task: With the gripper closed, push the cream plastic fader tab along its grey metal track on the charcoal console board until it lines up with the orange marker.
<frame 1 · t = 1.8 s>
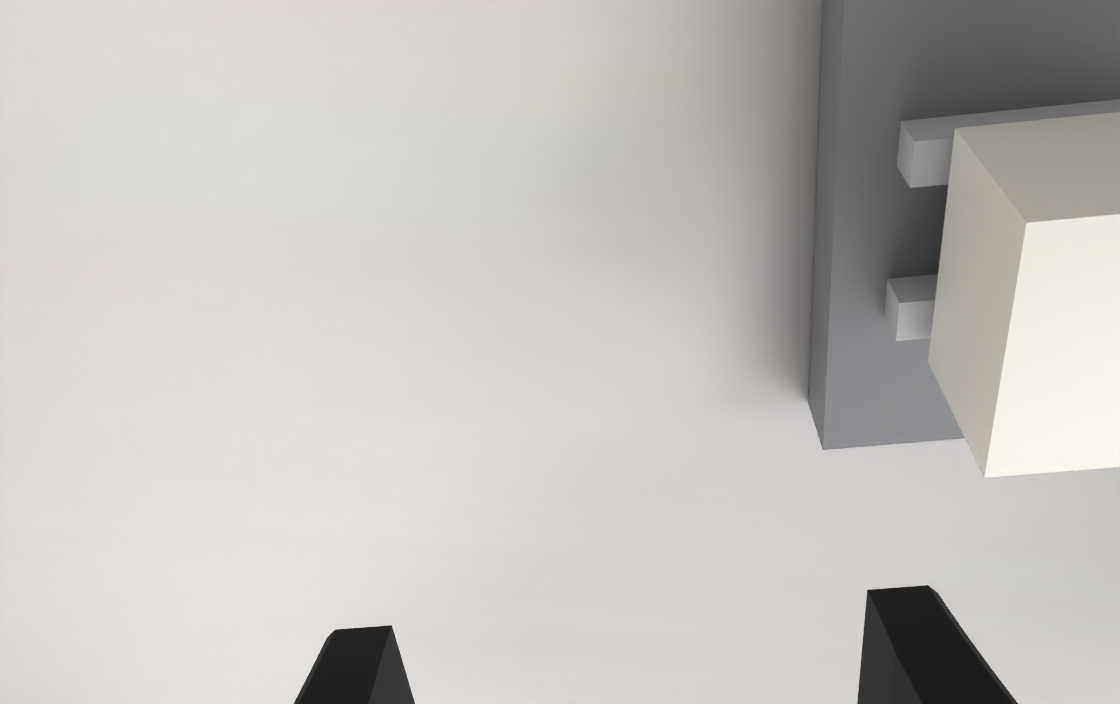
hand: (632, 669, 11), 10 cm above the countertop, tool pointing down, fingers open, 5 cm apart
fader tab: (1093, 277, 16), point 4 cm above the countertop, slide at 6.0 cm
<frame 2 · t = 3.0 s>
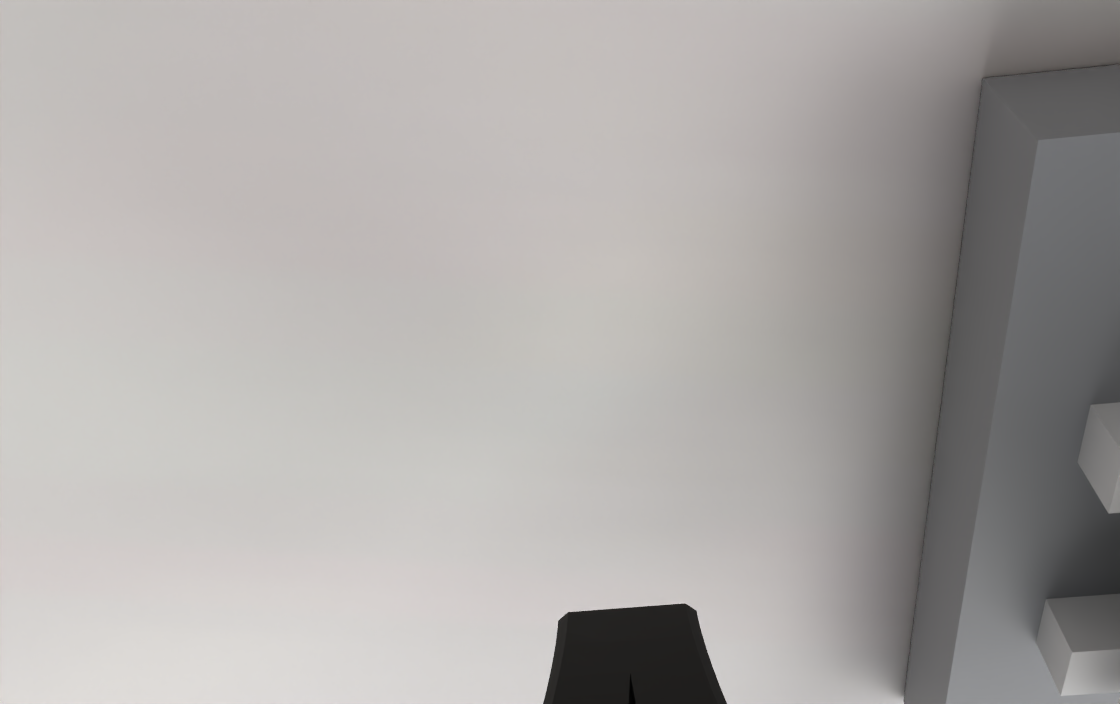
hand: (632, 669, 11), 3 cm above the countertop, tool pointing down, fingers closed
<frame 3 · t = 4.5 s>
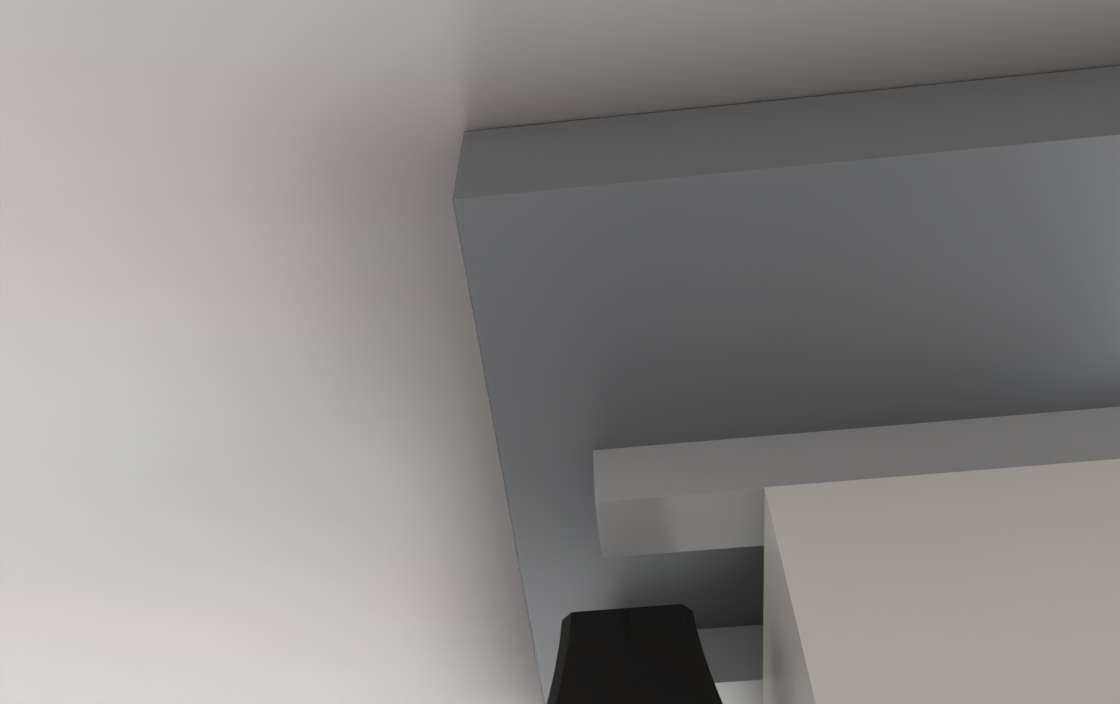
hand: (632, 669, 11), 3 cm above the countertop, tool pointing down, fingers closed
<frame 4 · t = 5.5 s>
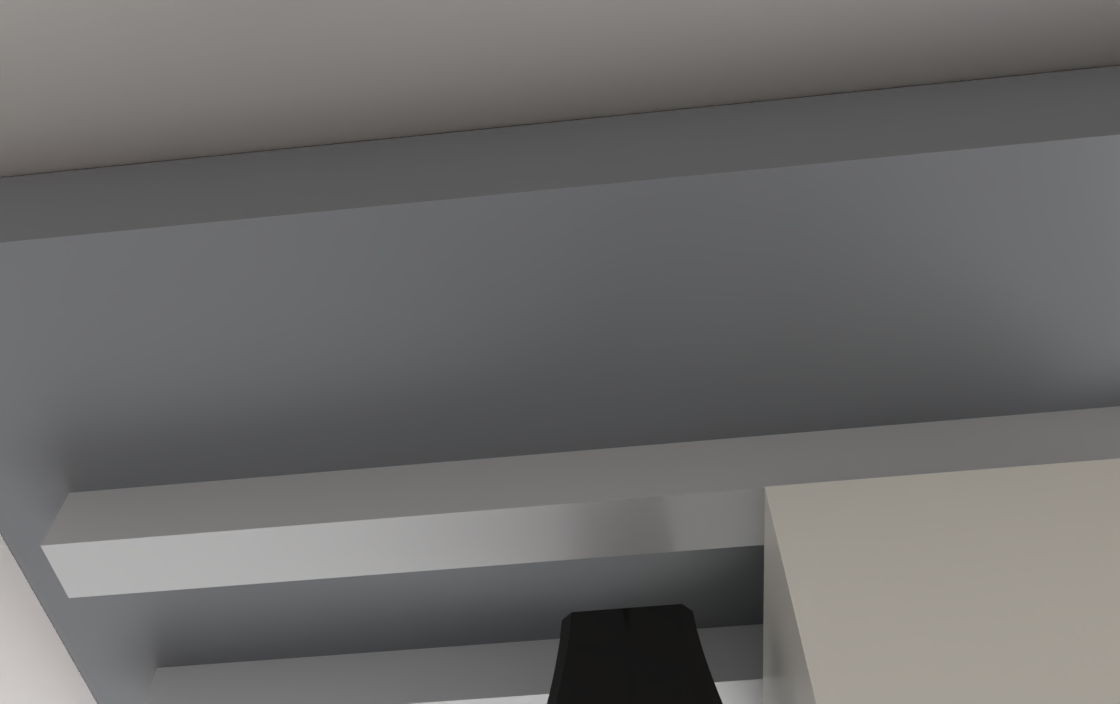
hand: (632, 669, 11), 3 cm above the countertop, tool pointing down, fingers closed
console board: (816, 468, 13), on the countertop
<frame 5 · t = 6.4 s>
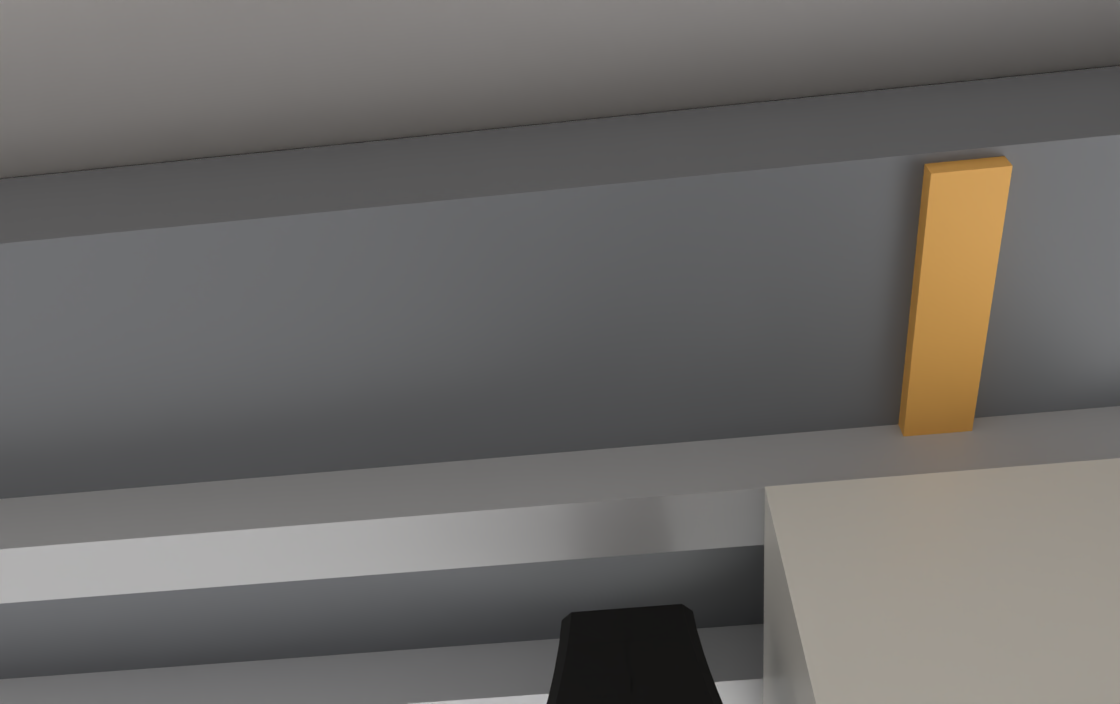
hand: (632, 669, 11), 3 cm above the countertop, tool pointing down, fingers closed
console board: (569, 488, 14), on the countertop
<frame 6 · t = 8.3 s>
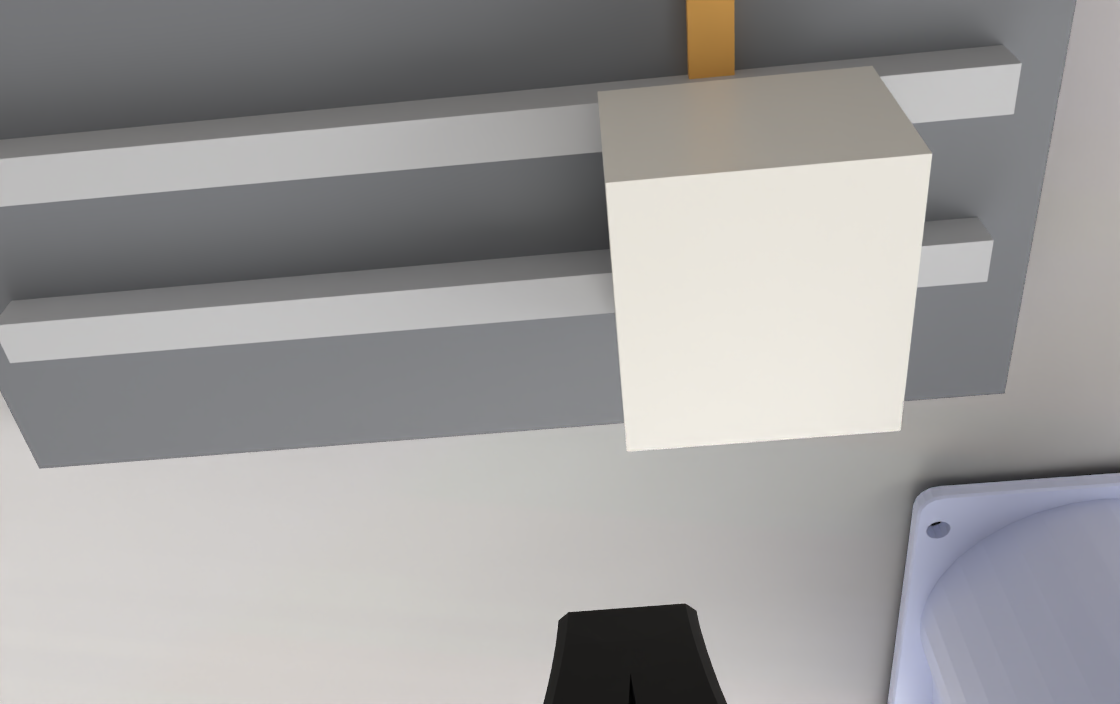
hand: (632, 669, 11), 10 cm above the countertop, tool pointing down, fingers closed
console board: (479, 165, 19), on the countertop
fader tab: (744, 246, 16), point 4 cm above the countertop, slide at -4.2 cm
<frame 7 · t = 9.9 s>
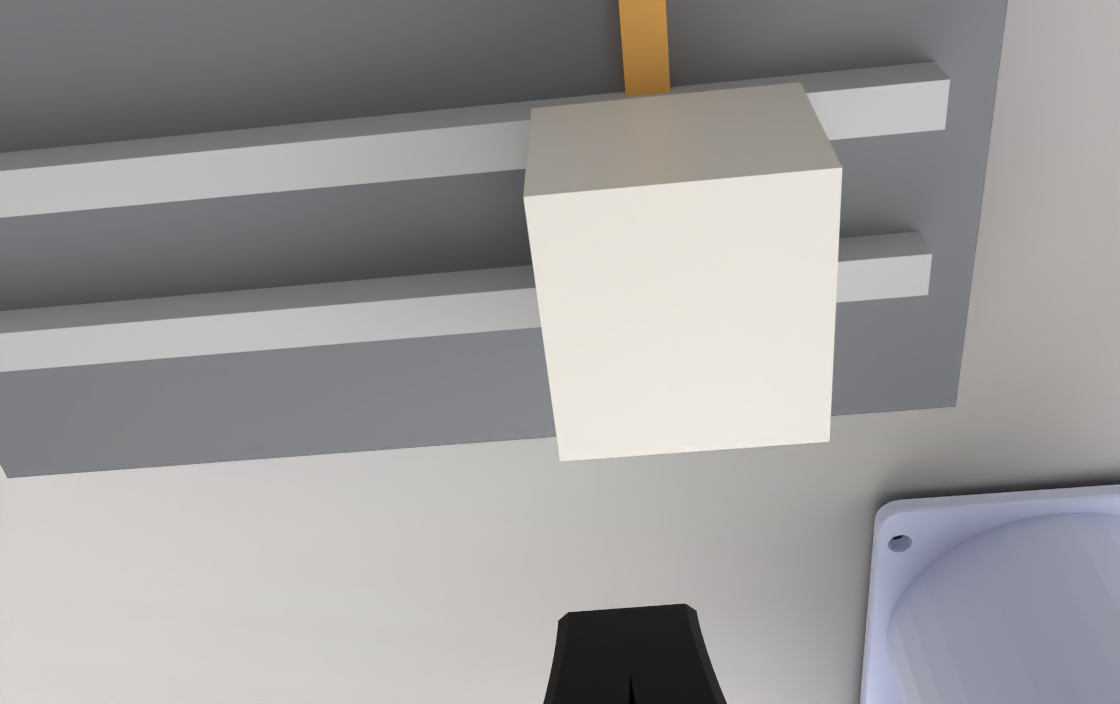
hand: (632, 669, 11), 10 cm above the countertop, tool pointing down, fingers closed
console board: (431, 180, 19), on the countertop
fader tab: (677, 260, 16), point 4 cm above the countertop, slide at -4.2 cm
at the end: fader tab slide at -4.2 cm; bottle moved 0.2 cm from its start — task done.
